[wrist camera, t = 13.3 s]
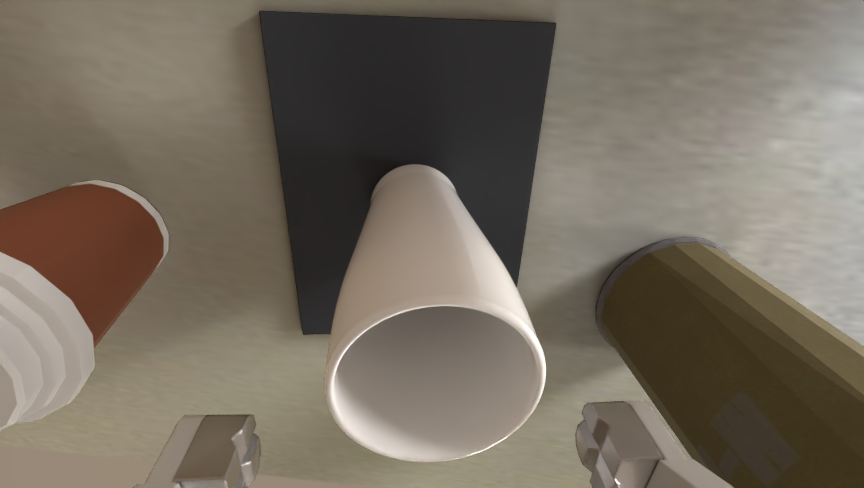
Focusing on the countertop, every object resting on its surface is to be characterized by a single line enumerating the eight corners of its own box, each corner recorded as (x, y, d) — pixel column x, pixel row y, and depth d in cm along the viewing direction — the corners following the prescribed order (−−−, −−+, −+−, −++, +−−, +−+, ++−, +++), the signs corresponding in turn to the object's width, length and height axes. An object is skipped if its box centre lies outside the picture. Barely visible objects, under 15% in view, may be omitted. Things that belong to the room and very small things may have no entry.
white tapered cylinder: (443, 128, 24) (507, 256, 10) (484, 226, 27) (576, 421, 13) (337, 178, 24) (271, 355, 11) (389, 267, 27) (386, 490, 14)
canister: (611, 237, 28) (980, 585, 11) (754, 234, 29) (1316, 551, 11) (582, 359, 33) (799, 735, 15) (705, 353, 34) (1043, 703, 16)
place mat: (261, 10, 21) (258, 10, 20) (554, 22, 22) (556, 22, 22) (303, 331, 30) (302, 335, 29) (509, 326, 31) (510, 329, 31)
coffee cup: (133, 134, 23) (-96, 225, 12) (220, 269, 27) (108, 426, 16) (-14, 186, 23) (-355, 316, 13) (94, 310, 28) (-94, 486, 17)
